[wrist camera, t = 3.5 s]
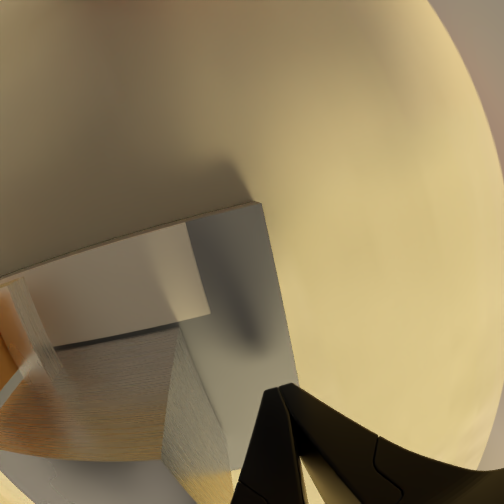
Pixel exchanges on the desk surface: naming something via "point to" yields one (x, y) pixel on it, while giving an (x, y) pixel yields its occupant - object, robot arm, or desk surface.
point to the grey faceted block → (107, 418)
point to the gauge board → (179, 306)
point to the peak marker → (6, 364)
